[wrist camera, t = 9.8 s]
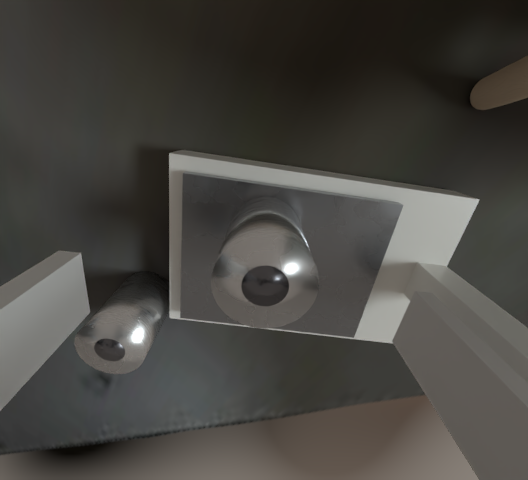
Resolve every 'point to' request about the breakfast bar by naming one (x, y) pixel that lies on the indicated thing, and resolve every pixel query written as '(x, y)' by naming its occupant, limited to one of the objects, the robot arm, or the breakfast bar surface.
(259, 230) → the spacer
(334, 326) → the pan
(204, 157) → the scale
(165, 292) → the spacer
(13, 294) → the robot arm
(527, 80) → the planter
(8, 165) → the breakfast bar surface
